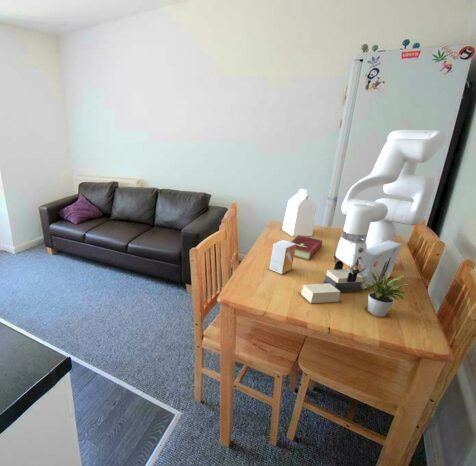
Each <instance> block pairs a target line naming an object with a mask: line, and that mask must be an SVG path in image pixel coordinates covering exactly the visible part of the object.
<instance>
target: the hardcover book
mask: <svg viewBox="0 0 476 466" xmlns="http://www.w3.org/2000/svg"><path fill="white" fill-rule="evenodd" d="M290 242H292V243H295V244H296V248H295V253H294V257H296V258H299V259H303V260H307V261H309V260H310V259H311V258H312V257H313V256H314V255H315V254H316V253H317V251H319V250H320V248H321V247H322V246H323V239H320V238H314V237H310V236H301V235H298V236H294V238H293V239H292V240H290Z"/></svg>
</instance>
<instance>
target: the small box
mask: <svg viewBox="0 0 476 466" xmlns="http://www.w3.org/2000/svg"><path fill="white" fill-rule="evenodd" d="M295 248H296V244H295V243H292V242H291V241H288V240H285V239H282V240H279V241H277V242H275V243H273V244H272V249H271V250H272V251H271V257H270V263H269V264H270V265H269V270H271V271H273V272H275V273H278V274H281V275H283V274H285V273H286V272H289V271H291V270H292V269H293V263H294V257H295V256H294V253H295Z"/></svg>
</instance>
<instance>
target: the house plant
mask: <svg viewBox="0 0 476 466" xmlns="http://www.w3.org/2000/svg"><path fill="white" fill-rule="evenodd" d="M359 271H360V270H359ZM362 272H364V271H362ZM371 272H372V271H371ZM371 272H370V273H371ZM374 272H375V271H374ZM365 273H366V272H365ZM390 273H391V272H390ZM390 273H388V275H387V274H386V272H385V275H384V280H382V281H380V278H379V275H378V274H377V275H378V278H379V280H377V278H376V276H375V275H374V273H373V272H372V273H371V274H372V276H373V278H374V280H375V282H376V284H375V283H374V281H373V282H372V283H373V284H374V285H372V286H370V285H369V284H363V285H364V287H367V288H366V289H371V290H372V291H371V292H369V293H368V299H367V312H368V313H369V314H372V315H373V316H375V317H385V316H387V313H388V312H389V311H390V309H391V307H392V306H393V304H394V302H395V300H396V301H399V299H402V301H405V298H404V296H403V295H402V294H404V295H406V296H407V294H406V293H405V292H404V291H402V290H400V289H403V288H402V286H410V284H409V283H403V284H399V285H396V284H397V283H399V282H400V281H401V280H402V279H403V278H404V277H405V275H399V276H397V277H396V278H394V279H391V280H390V281H388V279H389V277H388V276H389V274H390ZM391 274H392V273H391ZM368 275H369V274H368ZM369 276H370V275H369ZM387 281H388V282H387ZM370 282H371V281H370ZM395 285H396V286H395ZM373 286H374V287H373Z"/></svg>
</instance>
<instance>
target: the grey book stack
mask: <svg viewBox="0 0 476 466" xmlns="http://www.w3.org/2000/svg"><path fill="white" fill-rule="evenodd" d="M326 283H330V284H331V285H333V286H334V287H335V288H336V289H338V290H339V291H340V293H352V292H353V293H354V292H355V293H356V292H361V290H362V288H361V283H362V282H352V283H336V282H335V281H334V280H332V279H331V278H330V277H328V276H327V275H325V277H324V280H323V283H322V284H326Z"/></svg>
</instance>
